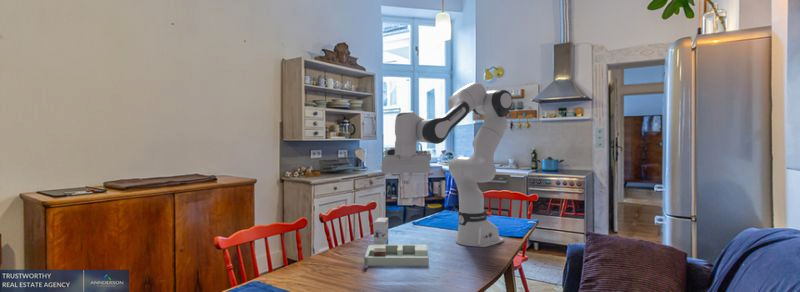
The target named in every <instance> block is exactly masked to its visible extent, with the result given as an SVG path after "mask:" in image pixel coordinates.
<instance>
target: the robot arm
mask: <svg viewBox="0 0 800 292" xmlns="http://www.w3.org/2000/svg"><path fill="white" fill-rule="evenodd" d="M512 104H513V96H512V94H511V92H510V91H509V90H507V89H506V90H505V89H502V88H501V89H494V90H487V91H486V88H485V86H483V85H482V84H481V83H479V82H471V83H469V84H466V85H465V86H463V87H461V88H460V89H458V90H457V91H455V92H453V94H452V95H451V96H450V97H449V98H448V100H447V105H448V109H449V110H448V111H447V112H446V113H445V114H444V115H442V116H441V117H439V118H438V117H436V118H431V119H430V118H427V119H425V118H422V117H420V116H419V115H417V113H415V111H413V110H409V111H403V112H402V111H401V112H399V113H398V114H397V115H396V117H395V120H394V135H395V141H394V147H393V146H392V147H390V148H388V149H385V150H384V151H383V152H384V153H383V154H384V156H383V158H382V160H381V166H380V167H381V169H380V170H381V173H382V174H399V177H400V179H401V181H402V183H401V184H402V185H410V182H411V179H412V177H413V174H429V173H430V172H431V163H430V161H431V160H432V154H431V153H430V151H428V150H417V142H418V143H429V144H435V145H439V144H442V143H443V142H444V141H445V140H446V139H447V137H448V135H449V134H450V133H451V131H452V130H453V129H454V128H455V127H456V126H457V125H458V124H459V123H460V122H462V120H464V119H465V118H466V117H467V116H468V115H469V114H470V113H473V114H475V115H479V116H484V120H483V122H482V123H481V126H480V127H479V129H478V130H477V133H476V135H475V136H474V138H473V140H472V141H471V142H472V143H471V144H472V147H473V154H472V155H471V156H457V157H454V158H453V159H451V160H450V162H449V163H448V171H449V174H450V175H451V177H452V178H453V179H454V181H455V182H454V183H455V185H456V189H457V192H458V206H459V207H458V208H459V209H458V214H457V217H458V218H457V219H458V229H457V234H456V238H455V243H456V244H458V245H462V246H467V247H479V248H486V247H490V246H493V245H496V244H499V243H500V244H501V243H503V242H505V239H504V238H503V237H502V236H500V235H499V228H498V227H497V226H496V225H495V224H494V223H492V222H491V221H490V220H489V219H488V217H489V218H490V217H491V216H492V213H491V212H490V211H485V207H484V206H485V203H484V202H485V199H484V197H485V196H484V194H483V191H482V190H481V189H480V187H479V185H478V183H488V182H492V181H493V179H494V178H495V176H496V174H497V167H496V164H495V163H494V157H495V152H496V151H497V148H498V146H499V144H500V142H501V140H502V139H503V136H504V133H505V131H506V128H507V124H508V119H507V118H506V117H507V115H508V114H510V110H511V109H512ZM404 174H408V179H404Z"/></svg>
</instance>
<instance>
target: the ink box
mask: <svg viewBox="0 0 800 292" xmlns="http://www.w3.org/2000/svg"><path fill="white" fill-rule="evenodd" d="M373 245H389V217H378V218H376V220H375V221H373Z"/></svg>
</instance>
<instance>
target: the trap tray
mask: <svg viewBox="0 0 800 292" xmlns="http://www.w3.org/2000/svg"><path fill="white" fill-rule="evenodd" d="M374 248H386V256H374ZM428 251H429V250H428V244H387V245H374V244H368V247H367V249H366V252H365V255H364V262H363V264H364V265H363V267H364V269H368V268H369V267H371V266H382V267H383V266H385V267H386V266H387V267H388V266H389V267H391V266H393V267H394V266H396V267H397V266H401V267H402V266H403V267H405V266H406V267H411V266H414V267H418V266H419V267H420V266H423V267H424V266H425V267H426V266H427V267H429V265H430V263H429V261H430V260H429V259H430V258H429V256H428V255H429V252H428Z"/></svg>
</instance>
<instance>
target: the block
mask: <svg viewBox="0 0 800 292" xmlns="http://www.w3.org/2000/svg"><path fill="white" fill-rule="evenodd" d="M374 256H386V248H374Z"/></svg>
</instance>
